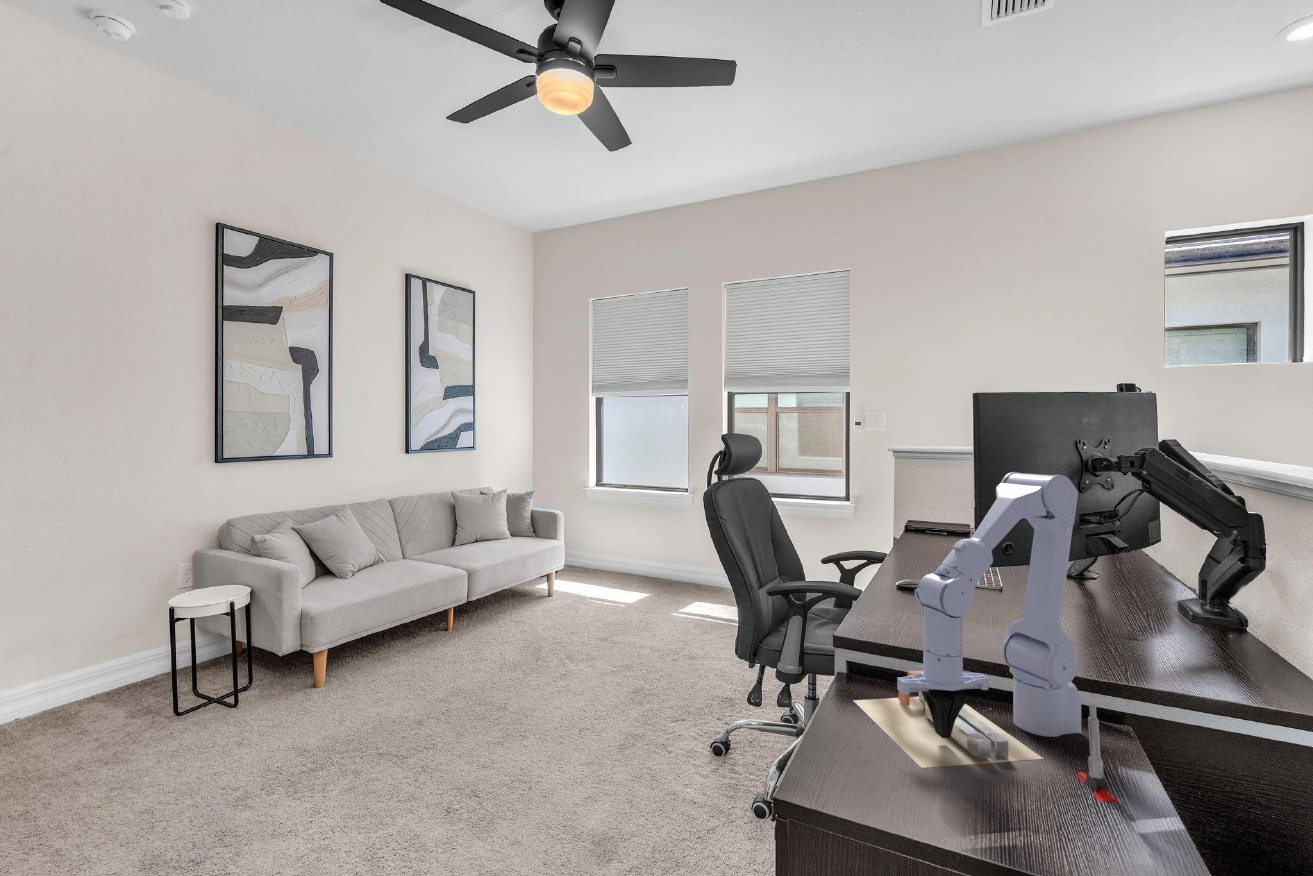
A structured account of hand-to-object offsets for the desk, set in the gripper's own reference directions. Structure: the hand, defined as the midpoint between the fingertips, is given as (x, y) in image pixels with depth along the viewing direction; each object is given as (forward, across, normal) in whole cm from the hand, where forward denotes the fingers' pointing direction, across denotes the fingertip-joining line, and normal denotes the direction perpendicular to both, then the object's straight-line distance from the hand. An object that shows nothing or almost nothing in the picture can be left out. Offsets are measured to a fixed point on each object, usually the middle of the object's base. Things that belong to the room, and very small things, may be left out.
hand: (942, 734), depth 94 cm
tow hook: (+3, -11, +13) cm, 17 cm away
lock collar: (+1, -5, -14) cm, 15 cm away
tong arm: (+1, -3, -2) cm, 4 cm away
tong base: (+1, -5, -5) cm, 7 cm away
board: (+2, -3, -5) cm, 6 cm away
